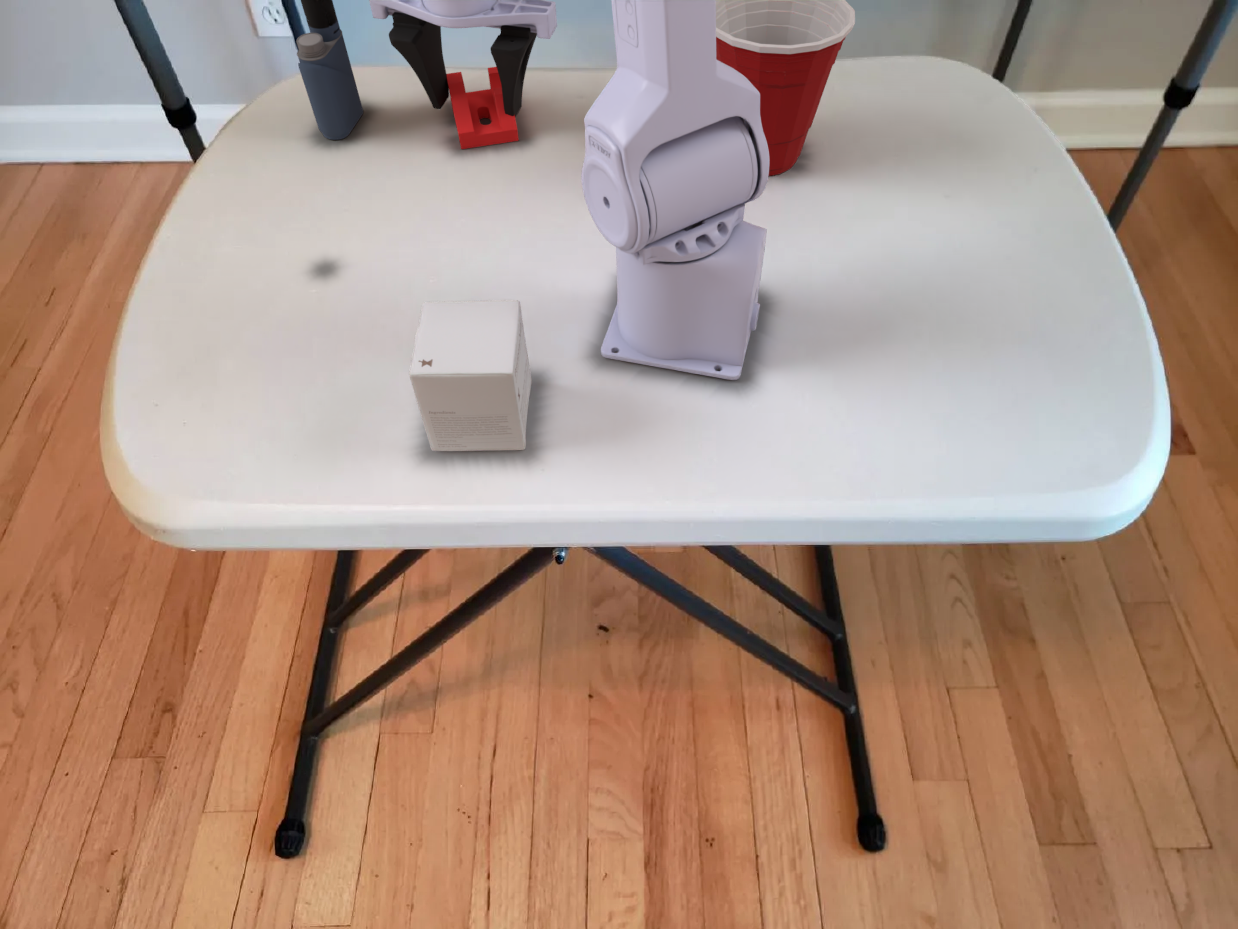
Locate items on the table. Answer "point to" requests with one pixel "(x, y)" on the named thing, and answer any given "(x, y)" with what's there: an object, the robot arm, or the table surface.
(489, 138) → the bracket
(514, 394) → the product box
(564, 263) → the table surface
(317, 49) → the vaping device
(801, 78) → the plastic cup
